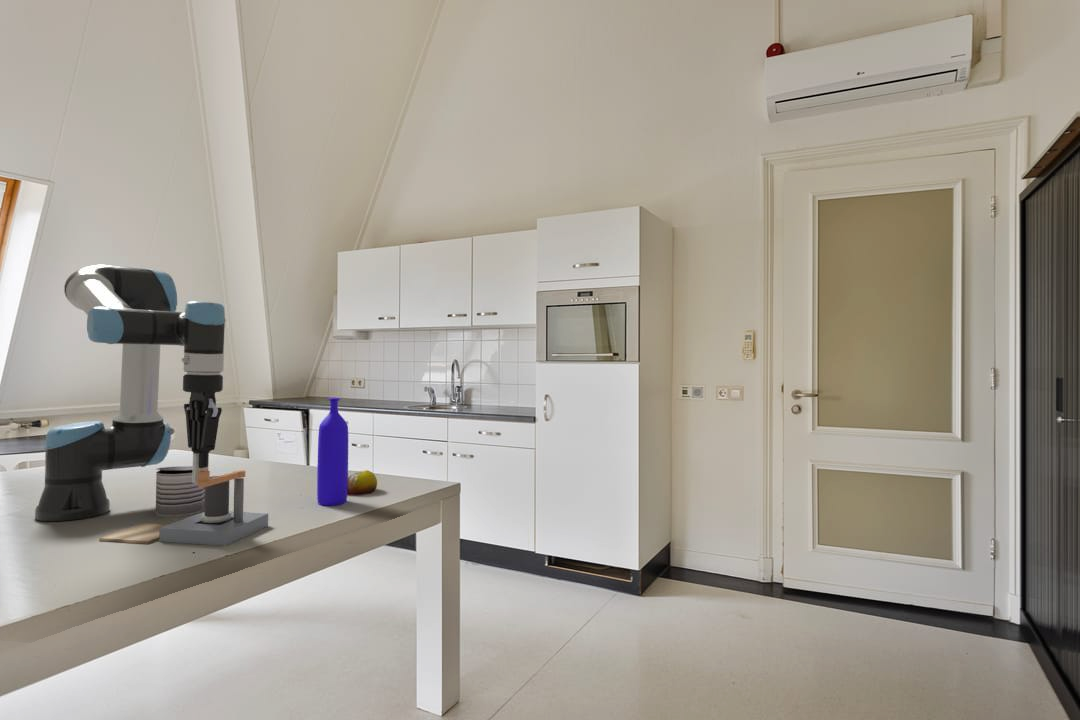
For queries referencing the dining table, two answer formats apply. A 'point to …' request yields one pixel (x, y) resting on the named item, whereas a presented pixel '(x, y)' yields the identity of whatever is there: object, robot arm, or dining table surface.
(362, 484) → the fruit
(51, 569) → the dining table surface
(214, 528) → the socket
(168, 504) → the can
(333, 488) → the bottle
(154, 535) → the coaster
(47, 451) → the robot arm
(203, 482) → the ball-ended peach stick
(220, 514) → the plug
